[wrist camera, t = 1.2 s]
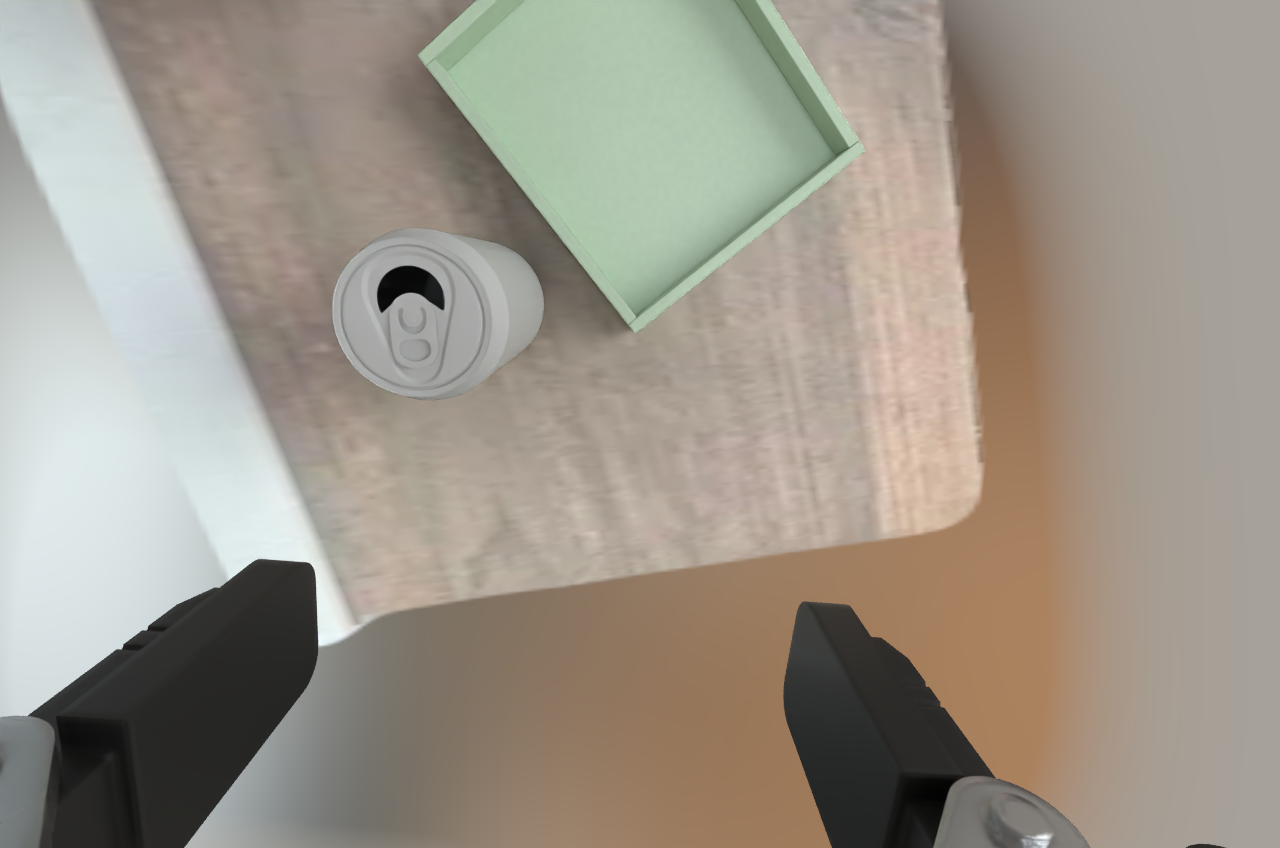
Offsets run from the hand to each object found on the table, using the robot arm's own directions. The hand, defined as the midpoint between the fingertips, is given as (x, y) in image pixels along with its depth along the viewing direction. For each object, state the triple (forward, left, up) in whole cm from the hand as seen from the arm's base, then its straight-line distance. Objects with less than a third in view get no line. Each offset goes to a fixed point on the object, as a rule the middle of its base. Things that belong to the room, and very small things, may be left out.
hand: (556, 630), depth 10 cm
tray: (-9, +10, -25) cm, 28 cm away
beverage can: (-7, -2, -25) cm, 26 cm away
